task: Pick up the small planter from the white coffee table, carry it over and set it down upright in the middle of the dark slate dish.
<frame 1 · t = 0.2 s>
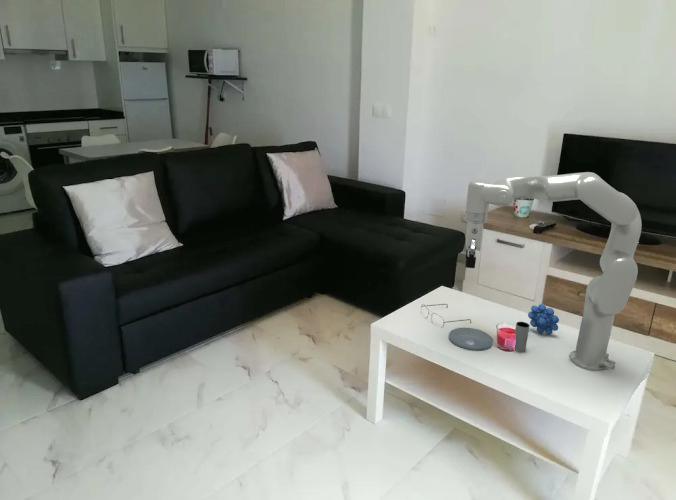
hand: (469, 263, 185), 31 cm above the table, tool pointing down, fingers open, 9 cm apart
eyeglasses: (443, 319, 213), on the table
grapes: (540, 334, 202), on the table
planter: (518, 350, 189), on the table
dish: (470, 340, 195), on the table
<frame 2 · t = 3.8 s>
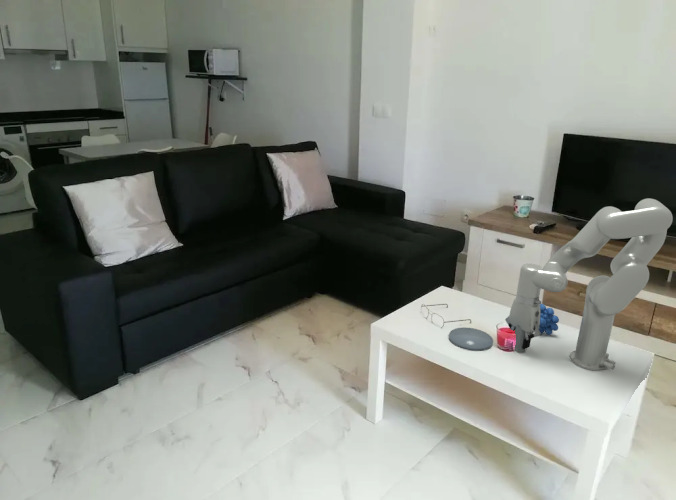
hand: (519, 344, 189), 2 cm above the table, tool pointing down, fingers closed on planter, 4 cm apart
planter: (518, 350, 189), on the table, touching gripper
everything else where it was.
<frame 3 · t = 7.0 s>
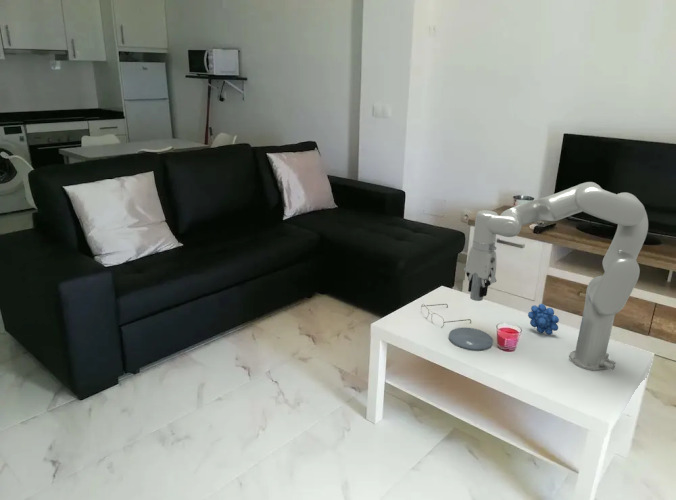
hand: (477, 293, 189), 19 cm above the table, tool pointing down, fingers closed on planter, 4 cm apart
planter: (476, 299, 190), point 17 cm above the table, touching gripper
everything else where it was.
when the fingers open (5 cm above the table, at t = 10.4 s): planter drops 1 cm, resting on dish.
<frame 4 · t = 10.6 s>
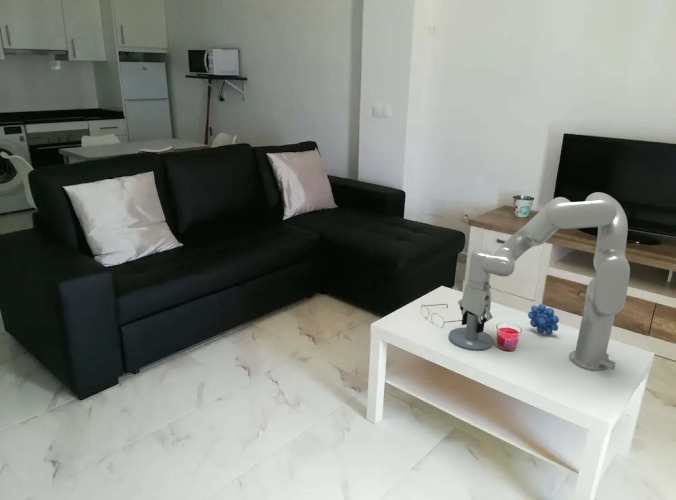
hand: (472, 327, 193), 5 cm above the table, tool pointing down, fingers open, 6 cm apart
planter: (471, 337, 195), point 1 cm above the table, touching dish
everything else where it was.
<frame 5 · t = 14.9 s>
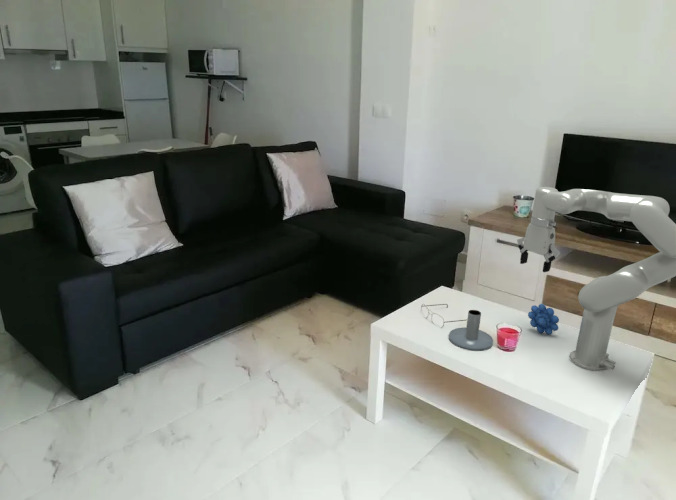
hand: (534, 267, 191), 28 cm above the table, tool pointing down, fingers open, 9 cm apart
nothing on the table moved.
at the end: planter inside the target area on the dish (0.2 cm from its centre), point 1.0 cm above the dish's base; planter tilted 0°; the gripper is holding nothing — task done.
